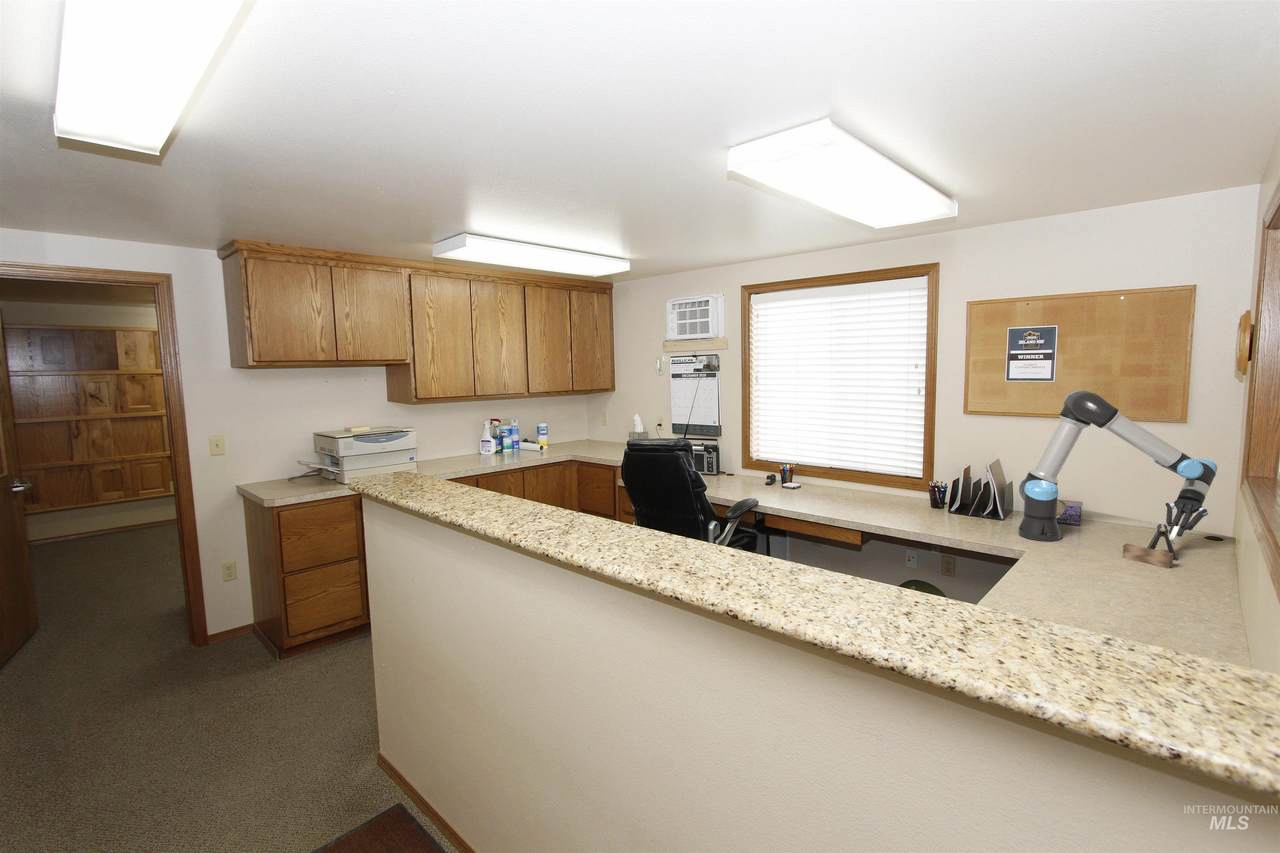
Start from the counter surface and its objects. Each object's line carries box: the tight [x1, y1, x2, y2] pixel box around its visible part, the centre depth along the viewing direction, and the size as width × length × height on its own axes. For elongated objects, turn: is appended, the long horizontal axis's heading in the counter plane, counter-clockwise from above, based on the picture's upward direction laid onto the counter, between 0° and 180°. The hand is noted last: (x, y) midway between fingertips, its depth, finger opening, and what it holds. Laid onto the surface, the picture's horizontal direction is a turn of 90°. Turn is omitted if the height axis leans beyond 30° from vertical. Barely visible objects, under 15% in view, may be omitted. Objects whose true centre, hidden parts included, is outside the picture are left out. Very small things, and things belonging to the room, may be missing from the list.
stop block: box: [1122, 543, 1174, 569], centre depth 218 cm, size 14×3×5 cm, turn 29°
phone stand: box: [1146, 523, 1178, 561], centre depth 223 cm, size 9×6×12 cm, turn 50°
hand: (1171, 541), depth 228 cm, fingers closed
